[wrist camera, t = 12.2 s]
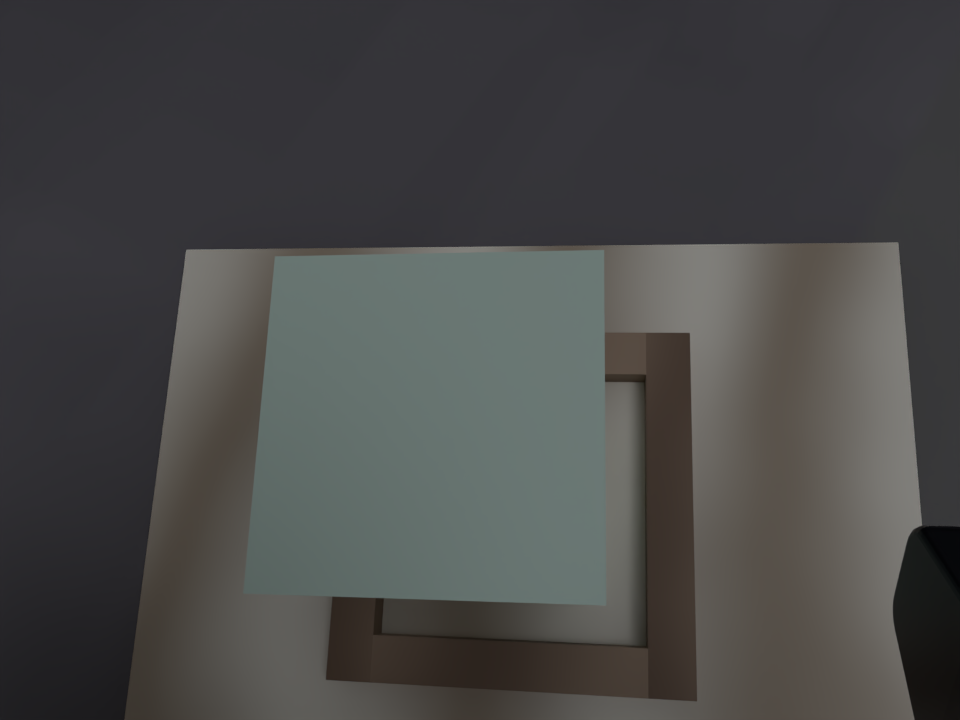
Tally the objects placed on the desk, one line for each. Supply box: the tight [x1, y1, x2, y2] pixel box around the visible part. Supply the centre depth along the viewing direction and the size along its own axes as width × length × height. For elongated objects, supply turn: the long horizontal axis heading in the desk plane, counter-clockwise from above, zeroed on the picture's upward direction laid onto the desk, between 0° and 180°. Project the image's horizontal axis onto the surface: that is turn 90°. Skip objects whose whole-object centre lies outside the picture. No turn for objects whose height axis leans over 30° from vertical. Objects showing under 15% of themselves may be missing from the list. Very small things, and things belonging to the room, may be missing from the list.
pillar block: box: [243, 250, 606, 606], centre depth 15 cm, size 4×4×11 cm
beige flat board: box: [124, 243, 922, 720], centre depth 21 cm, size 18×13×2 cm
